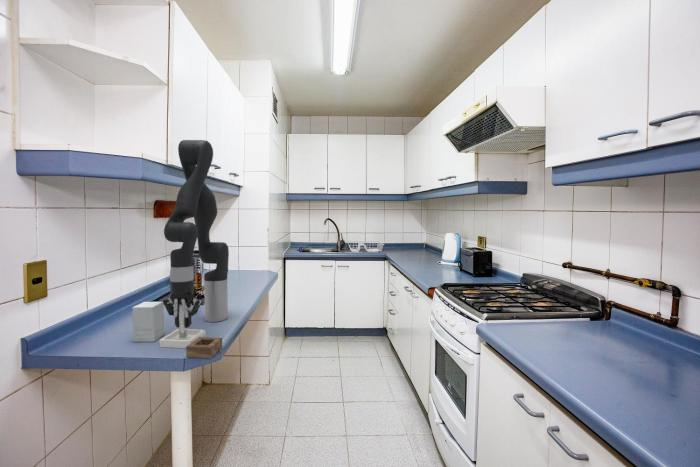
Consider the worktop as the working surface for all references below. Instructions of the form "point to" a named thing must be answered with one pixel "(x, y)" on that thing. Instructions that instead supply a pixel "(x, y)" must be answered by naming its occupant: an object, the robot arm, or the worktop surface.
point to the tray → (176, 342)
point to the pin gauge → (182, 323)
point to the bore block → (204, 347)
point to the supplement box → (148, 321)
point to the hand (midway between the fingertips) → (183, 326)
